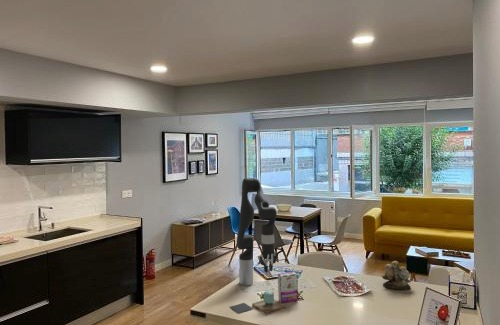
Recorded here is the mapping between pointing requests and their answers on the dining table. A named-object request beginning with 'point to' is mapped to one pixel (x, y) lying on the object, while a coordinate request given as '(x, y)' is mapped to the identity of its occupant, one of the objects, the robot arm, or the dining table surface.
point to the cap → (268, 296)
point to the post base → (268, 306)
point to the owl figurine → (396, 277)
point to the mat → (241, 308)
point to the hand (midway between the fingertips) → (268, 271)
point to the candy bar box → (288, 287)
